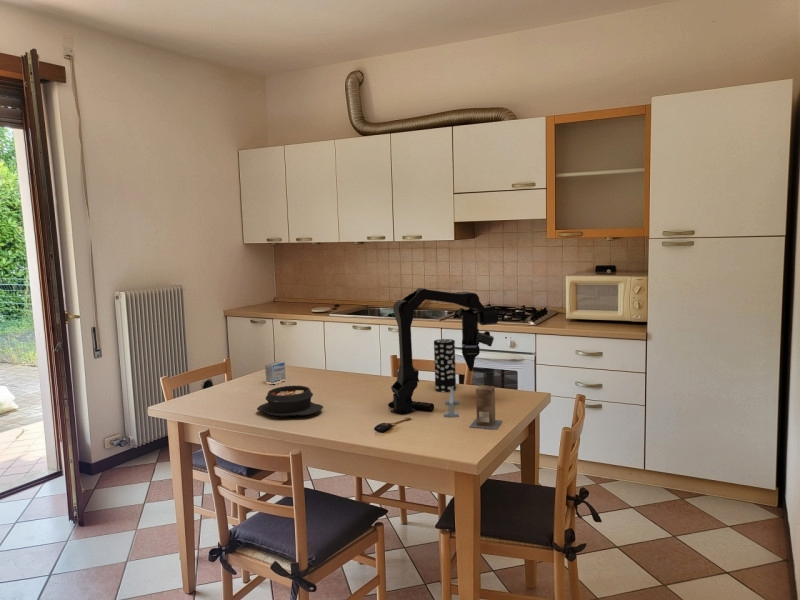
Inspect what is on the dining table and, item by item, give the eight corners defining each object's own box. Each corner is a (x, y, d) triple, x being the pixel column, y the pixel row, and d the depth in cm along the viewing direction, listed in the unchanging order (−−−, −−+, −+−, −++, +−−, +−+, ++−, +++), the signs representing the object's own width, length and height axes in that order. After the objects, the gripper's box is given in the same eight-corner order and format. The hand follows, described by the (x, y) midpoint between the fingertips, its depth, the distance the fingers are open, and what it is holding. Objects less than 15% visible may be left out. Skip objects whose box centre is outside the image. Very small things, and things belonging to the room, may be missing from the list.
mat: (469, 427, 194) (469, 426, 194) (476, 419, 202) (476, 418, 202) (497, 429, 191) (497, 428, 191) (502, 421, 199) (502, 420, 199)
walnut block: (476, 425, 195) (475, 389, 194) (480, 420, 200) (479, 385, 198) (491, 426, 193) (491, 390, 192) (495, 421, 198) (494, 386, 197)
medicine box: (273, 385, 260) (272, 365, 259) (265, 384, 263) (264, 364, 262) (286, 381, 267) (285, 362, 266) (278, 380, 269) (277, 361, 268)
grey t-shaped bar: (458, 417, 205) (458, 402, 205) (444, 417, 206) (443, 403, 205) (459, 402, 223) (458, 389, 222) (445, 402, 224) (445, 389, 223)
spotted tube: (453, 392, 237) (451, 343, 235) (432, 391, 240) (431, 342, 237) (458, 387, 245) (456, 339, 243) (438, 386, 247) (436, 338, 245)
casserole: (246, 417, 214) (244, 394, 214) (276, 403, 231) (275, 382, 231) (305, 423, 204) (304, 399, 204) (333, 408, 221) (331, 386, 221)
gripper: (493, 330, 209) (494, 373, 211) (490, 322, 228) (491, 362, 229) (461, 330, 210) (462, 374, 212) (461, 322, 229) (462, 362, 230)
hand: (470, 368), depth 221 cm, fingers open, 9 cm apart
